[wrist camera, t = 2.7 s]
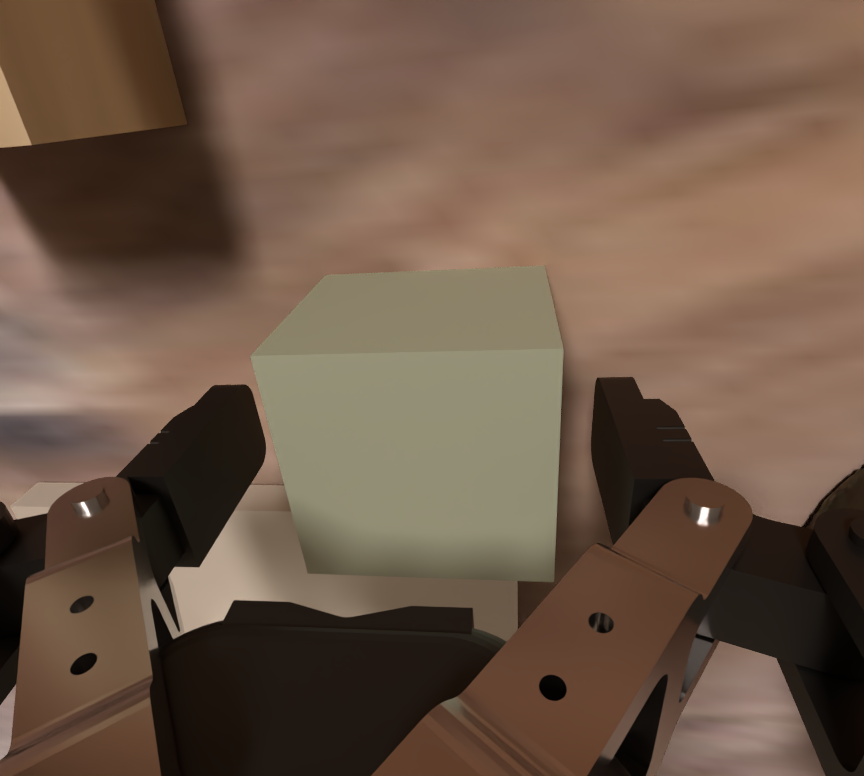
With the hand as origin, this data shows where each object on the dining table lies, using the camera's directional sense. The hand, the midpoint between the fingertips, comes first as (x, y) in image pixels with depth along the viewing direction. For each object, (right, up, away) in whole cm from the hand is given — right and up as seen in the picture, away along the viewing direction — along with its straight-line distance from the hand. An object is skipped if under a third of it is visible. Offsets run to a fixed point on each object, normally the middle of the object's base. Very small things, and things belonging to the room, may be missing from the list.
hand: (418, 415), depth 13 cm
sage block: (+1, +1, +2) cm, 2 cm away
